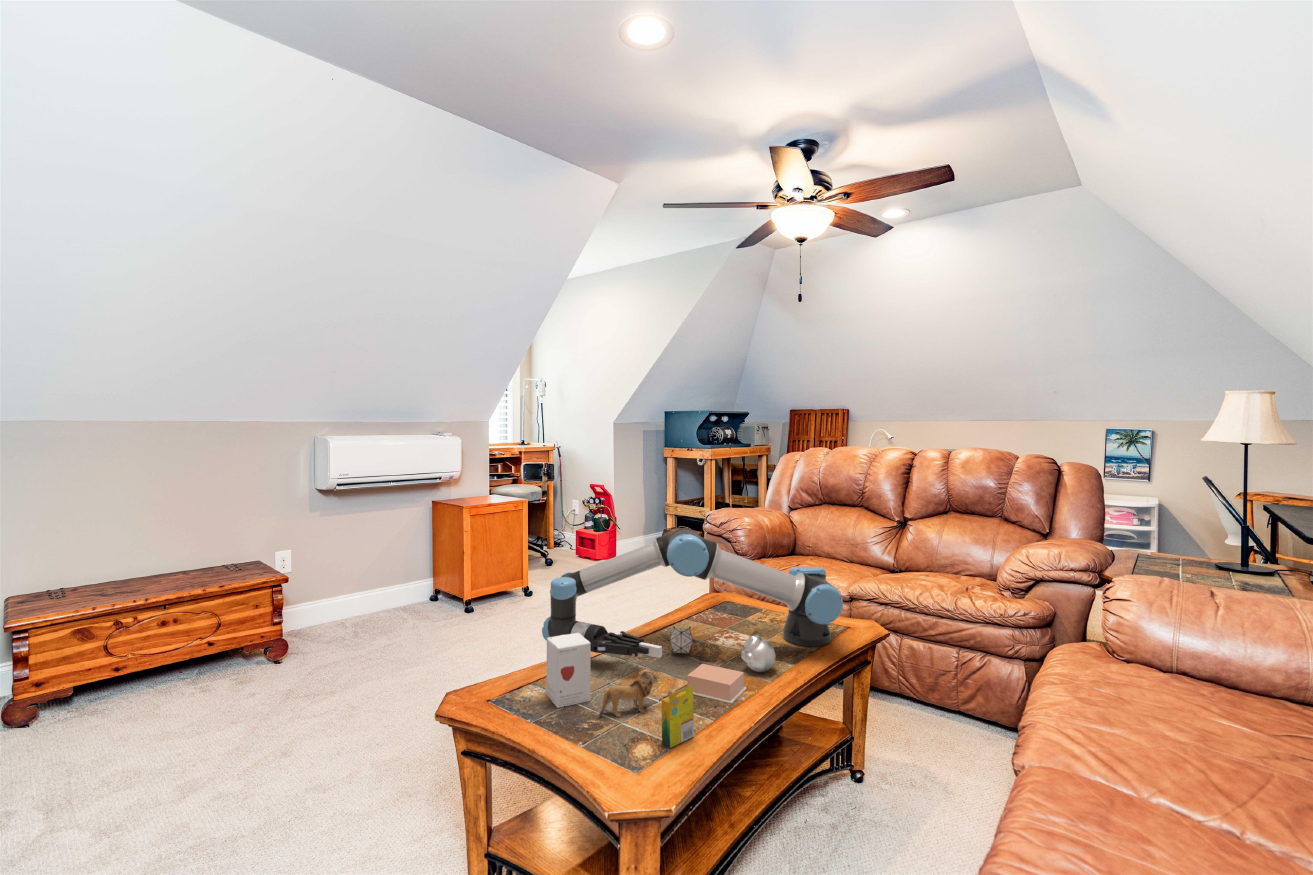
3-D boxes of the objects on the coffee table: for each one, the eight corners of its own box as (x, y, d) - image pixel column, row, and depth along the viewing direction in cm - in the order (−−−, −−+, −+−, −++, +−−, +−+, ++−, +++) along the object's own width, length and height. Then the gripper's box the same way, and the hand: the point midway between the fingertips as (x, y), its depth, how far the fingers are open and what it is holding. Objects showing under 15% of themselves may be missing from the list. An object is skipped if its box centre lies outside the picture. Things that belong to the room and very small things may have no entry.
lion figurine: (648, 700, 156) (648, 665, 155) (658, 708, 151) (658, 672, 151) (594, 714, 148) (594, 676, 148) (603, 723, 144) (603, 684, 144)
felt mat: (746, 688, 162) (746, 687, 162) (731, 703, 154) (731, 702, 154) (705, 679, 168) (705, 677, 168) (688, 692, 160) (688, 691, 160)
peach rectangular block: (702, 678, 168) (743, 687, 162) (687, 690, 161) (730, 700, 155) (702, 663, 168) (743, 672, 162) (687, 675, 160) (730, 684, 155)
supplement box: (556, 709, 151) (556, 648, 151) (545, 694, 159) (545, 636, 159) (591, 701, 155) (591, 642, 155) (579, 687, 163) (578, 631, 163)
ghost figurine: (744, 662, 180) (744, 628, 180) (777, 666, 177) (777, 632, 177) (738, 674, 172) (738, 638, 171) (772, 679, 168) (772, 642, 168)
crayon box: (685, 732, 140) (685, 680, 139) (694, 737, 137) (694, 685, 137) (660, 743, 135) (660, 690, 135) (669, 748, 133) (669, 694, 132)
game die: (685, 664, 189) (703, 635, 191) (684, 664, 181) (702, 634, 183) (661, 646, 191) (679, 618, 193) (658, 646, 183) (677, 616, 185)
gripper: (602, 643, 186) (671, 657, 174) (576, 657, 175) (648, 674, 163) (602, 618, 186) (672, 631, 174) (576, 630, 174) (648, 645, 163)
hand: (660, 652), depth 169 cm, fingers closed
